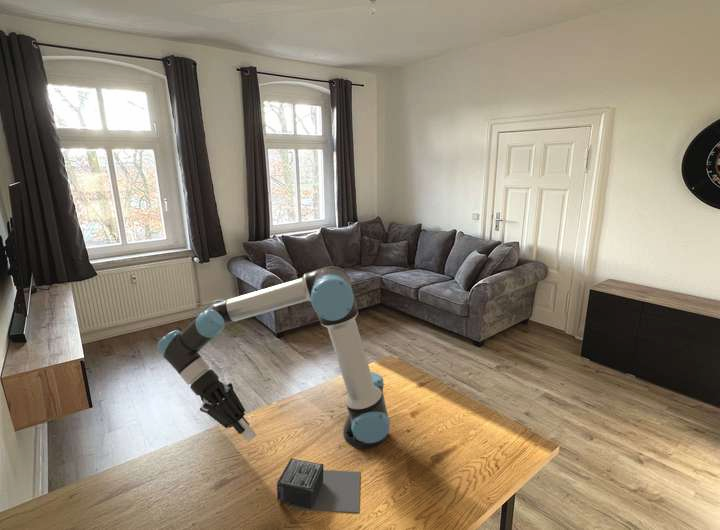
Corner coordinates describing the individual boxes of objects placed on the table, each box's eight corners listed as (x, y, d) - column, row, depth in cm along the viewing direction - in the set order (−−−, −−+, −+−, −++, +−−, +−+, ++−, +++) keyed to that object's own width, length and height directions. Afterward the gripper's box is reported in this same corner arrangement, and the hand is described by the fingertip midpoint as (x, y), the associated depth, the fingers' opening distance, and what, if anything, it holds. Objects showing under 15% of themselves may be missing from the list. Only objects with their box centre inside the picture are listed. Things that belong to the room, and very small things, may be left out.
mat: (360, 472, 122) (360, 471, 122) (358, 513, 107) (358, 512, 107) (299, 469, 122) (299, 468, 122) (290, 509, 107) (290, 508, 107)
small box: (276, 503, 109) (312, 510, 107) (275, 483, 108) (311, 490, 105) (291, 475, 119) (324, 481, 117) (290, 457, 118) (324, 463, 116)
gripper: (207, 373, 121) (256, 431, 121) (177, 395, 109) (231, 459, 109) (221, 360, 119) (271, 419, 118) (192, 381, 107) (248, 447, 106)
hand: (252, 438), depth 113 cm, fingers closed
